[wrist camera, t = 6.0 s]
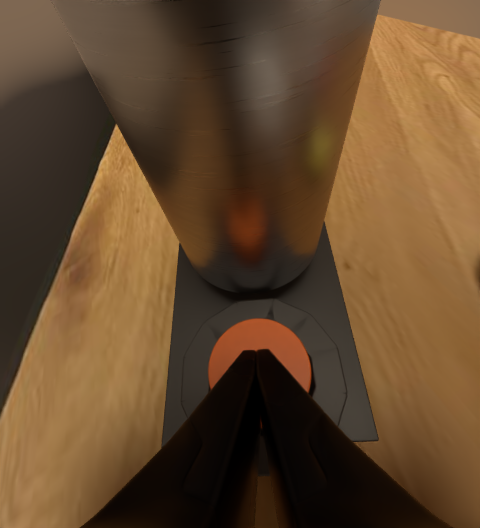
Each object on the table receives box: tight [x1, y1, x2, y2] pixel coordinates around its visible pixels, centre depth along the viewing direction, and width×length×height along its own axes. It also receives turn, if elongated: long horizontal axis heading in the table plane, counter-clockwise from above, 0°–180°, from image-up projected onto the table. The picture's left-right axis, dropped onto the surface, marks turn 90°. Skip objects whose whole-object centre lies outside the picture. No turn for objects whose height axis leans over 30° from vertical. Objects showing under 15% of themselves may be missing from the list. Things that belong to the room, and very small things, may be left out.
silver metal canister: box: [51, 0, 381, 293], centre depth 9 cm, size 7×7×12 cm
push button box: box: [161, 222, 379, 476], centre depth 15 cm, size 13×9×6 cm
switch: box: [208, 318, 311, 428], centre depth 10 cm, size 4×4×2 cm
